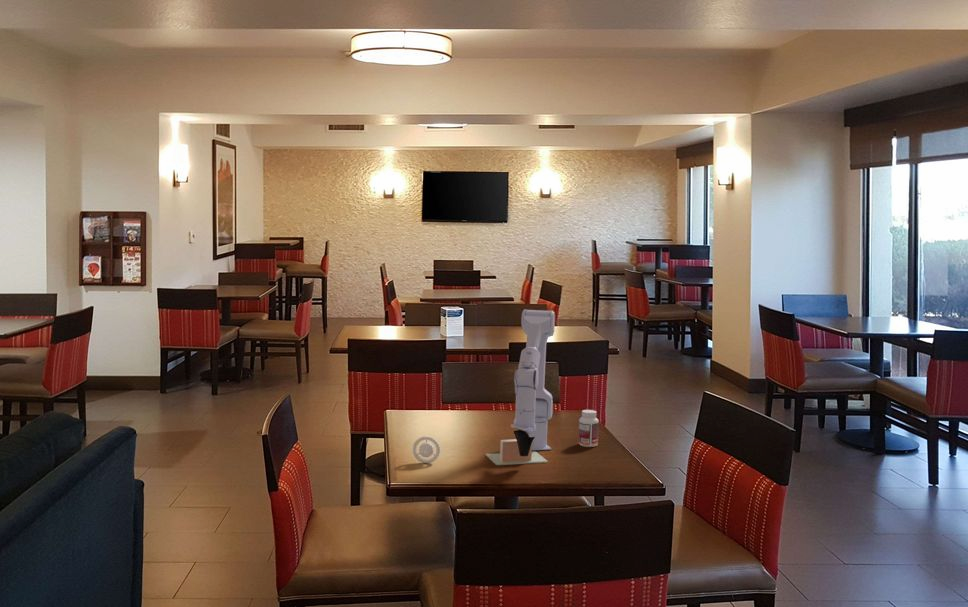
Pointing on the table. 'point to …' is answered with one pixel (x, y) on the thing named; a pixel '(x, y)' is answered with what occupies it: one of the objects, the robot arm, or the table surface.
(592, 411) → the pill bottle
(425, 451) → the ring around a ball
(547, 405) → the robot arm
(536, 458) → the mat
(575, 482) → the table surface
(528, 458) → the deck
